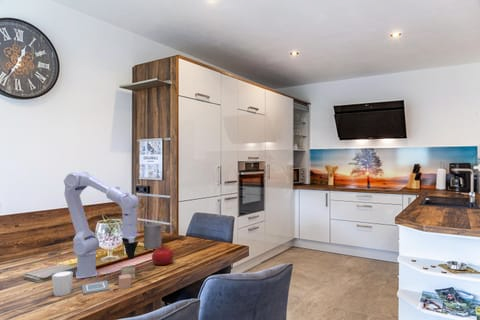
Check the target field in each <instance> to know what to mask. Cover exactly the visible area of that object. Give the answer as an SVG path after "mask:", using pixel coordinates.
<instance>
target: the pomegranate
mask: <svg viewBox="0 0 480 320" xmlns="http://www.w3.org/2000/svg"><path fill="white" fill-rule="evenodd" d="M156 248H159V249H157V250H153V253H152V255H151V259H152V263H153V265H157V266H165V265H169V264H171V262H173V259H174V251H173V250H172V249H171V248H170V247H169V246H168V245H167V246H165V247H164V244H161V248H160V247H156Z"/></svg>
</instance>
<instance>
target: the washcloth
mask: <svg viewBox="0 0 480 320" xmlns="http://www.w3.org/2000/svg"><path fill="white" fill-rule="evenodd" d="M62 271H71V272H73V274H75V273H76V271H77V265H75V266H74V265H69V264H65V263H61V264H59V263H58V264H57V265H53V266H48V267H44V268H40V269H37V270H33V271H29V272H26V273H25V274H24V275H23V276H24V277H23V279H25V280H26V281H29V282H32V283H36V284H40V283H45V282H48V281H52V275H53V274H55V273H58V272H62Z"/></svg>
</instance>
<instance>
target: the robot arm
mask: <svg viewBox="0 0 480 320" xmlns="http://www.w3.org/2000/svg"><path fill="white" fill-rule="evenodd" d="M63 184H64V198H65V202H66V205H67V208H68V211H69V215H70V218H71V221H72V225H73V229H74V232H75V235H74V238H73V239H72V242H73V247H72V249H73V252H74V254H75V255H76V257H77V258H76V259H77V260H76V267H77V271H76V272H75V278H76V280H79V279H85V278H86V279H87V278H91V277H97V276H98V272H97V266H96V265H97V259H96V258H97V254H96V253H97V250H98V248H99V247H100V241H99V239H98V237H97V236H96V234H95V232H94V231H92V230H91V229H90V226H89V223H88V219H87V216H86V212H85V210H84V206H83V203H82V199H81V194H82V192H83V191H84V190H85V189H86V188H87V187H92V188H93V189H96V190H97V191H100V192H102V193H103V194H105V195H106V198H107V199H109V200H110V201H112V202H113V203H116V204H117V205H119V207H120V209H121V212H122V214H121V216H122V222H121V223H122V227H121V229H122V235H121V241H122V243H123V245H124V250H125V254H126V255H127V256H126V257H127V260H133V259H134V258H135V254H136V250H137V246H138V245H139V241H138V240H137V241H136V238H137V237H139V236H140V235H141V233H139V232H138V225H137V224H138V223H137V222H138V219H137V218H138V212H137V210H138V208H137V207H138V206H139V204H140V200H139V199H140V198H139V197H138V196H137V195H136V194H130V192H128V191H124V190H122V189H121V187H120V186H116V185H115V186H114V185H113V186H109V185H108V184H106V183H105V182H104V181H101V180H100V179H99V178H97V177H96V176H94V175H93V174H90V173H88V172H86V171H84V172H69V173H68V174H66V176H65V178H64V179H63Z"/></svg>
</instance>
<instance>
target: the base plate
mask: <svg viewBox="0 0 480 320" xmlns="http://www.w3.org/2000/svg"><path fill="white" fill-rule="evenodd" d="M81 289H82V295H83V296H86V295H90V294H96V293H101V292H107V291H111V287H110V284H109V282H108V280H100V281H95V282H88V283H81Z"/></svg>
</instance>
